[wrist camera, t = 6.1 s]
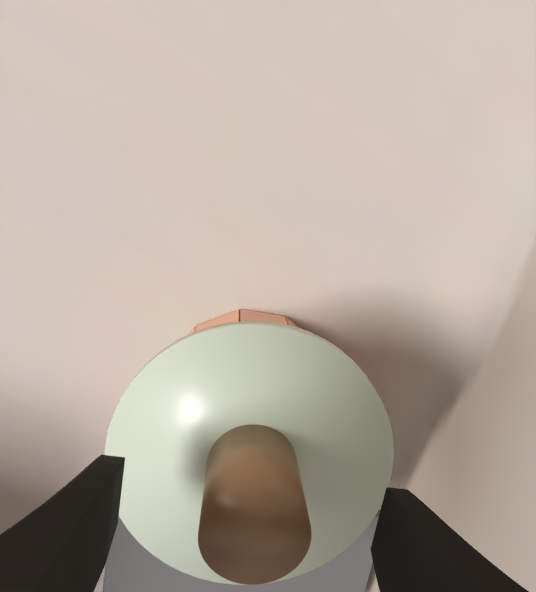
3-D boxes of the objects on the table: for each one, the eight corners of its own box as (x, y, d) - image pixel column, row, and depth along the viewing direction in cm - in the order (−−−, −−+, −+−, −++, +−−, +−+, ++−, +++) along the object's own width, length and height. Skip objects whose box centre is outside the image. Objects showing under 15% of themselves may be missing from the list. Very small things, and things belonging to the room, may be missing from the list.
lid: (359, 579, 16) (393, 688, 12) (101, 560, 15) (58, 671, 12) (414, 339, 14) (472, 389, 10) (120, 303, 13) (77, 343, 10)
